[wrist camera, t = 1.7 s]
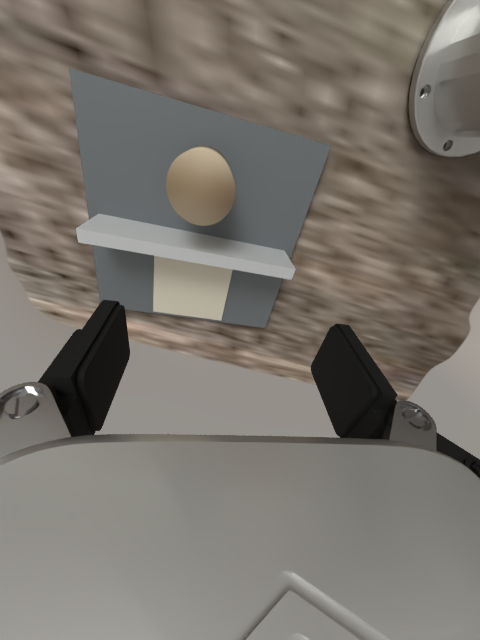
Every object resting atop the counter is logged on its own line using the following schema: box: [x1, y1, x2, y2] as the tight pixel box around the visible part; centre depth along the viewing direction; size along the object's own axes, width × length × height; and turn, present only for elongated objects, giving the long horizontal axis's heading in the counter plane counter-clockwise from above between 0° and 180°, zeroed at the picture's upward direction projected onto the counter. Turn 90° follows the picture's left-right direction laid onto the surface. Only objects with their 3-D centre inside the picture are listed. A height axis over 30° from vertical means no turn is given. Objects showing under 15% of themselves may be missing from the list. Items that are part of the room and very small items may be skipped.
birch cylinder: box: [166, 146, 235, 226], centre depth 21 cm, size 5×5×7 cm
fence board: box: [69, 68, 331, 328], centre depth 25 cm, size 22×22×6 cm
